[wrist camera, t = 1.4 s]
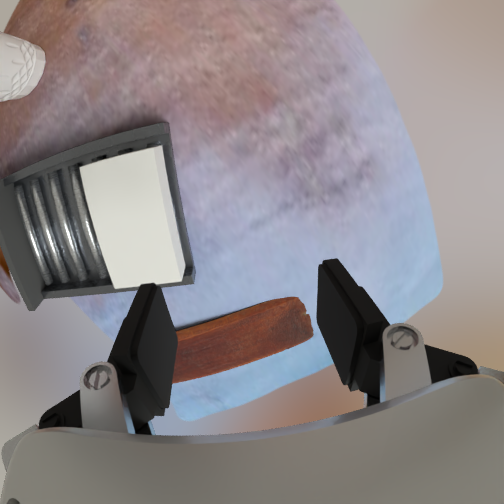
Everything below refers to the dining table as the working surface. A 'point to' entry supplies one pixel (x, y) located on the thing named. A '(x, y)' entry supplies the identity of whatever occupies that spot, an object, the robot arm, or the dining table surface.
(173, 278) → the slab
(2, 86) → the white cup
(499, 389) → the robot arm
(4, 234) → the roller track
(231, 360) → the wooden tablet
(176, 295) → the dining table surface
